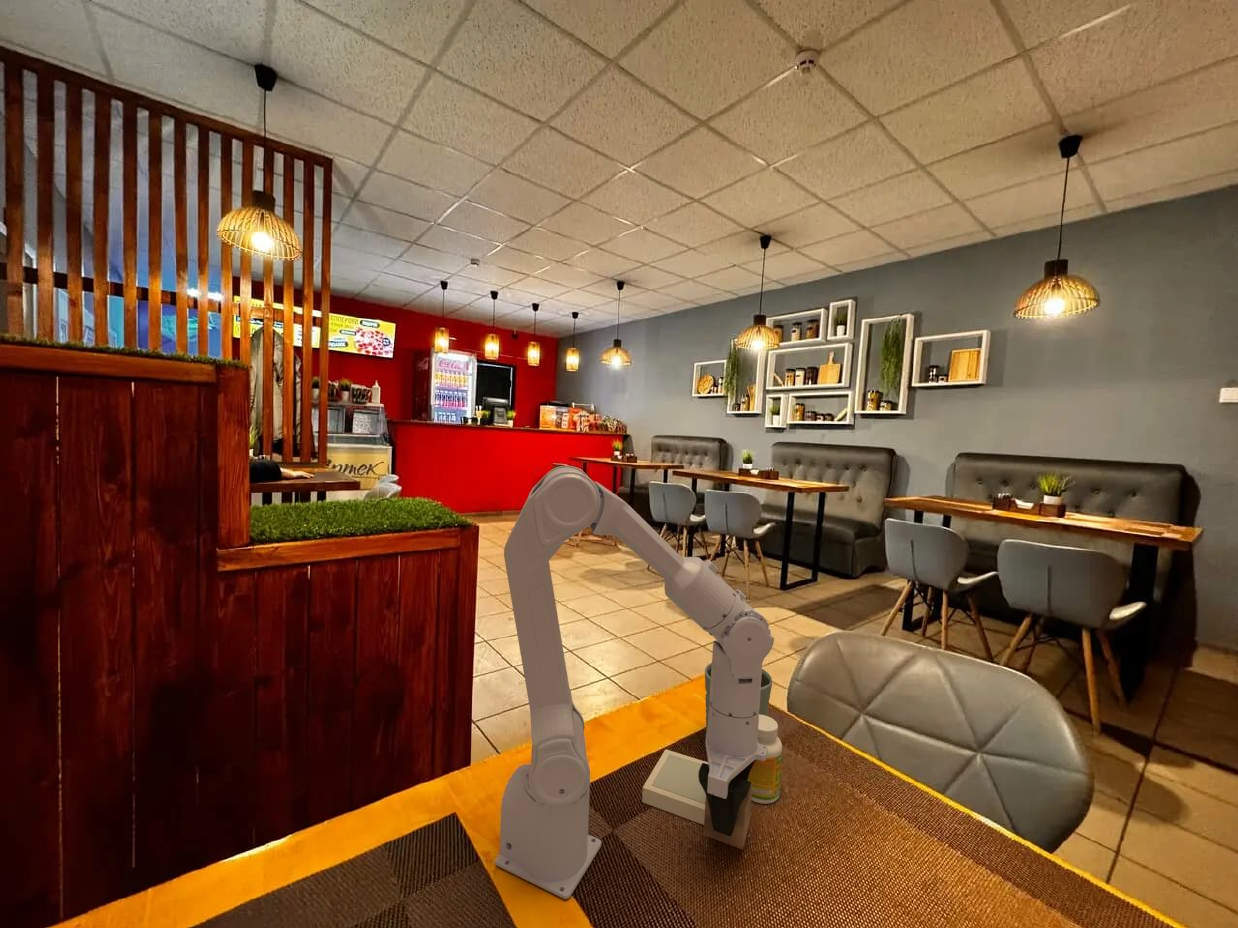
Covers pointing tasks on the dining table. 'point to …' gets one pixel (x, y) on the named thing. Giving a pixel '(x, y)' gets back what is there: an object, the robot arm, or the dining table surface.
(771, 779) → the supplement bottle
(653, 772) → the tile base
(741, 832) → the walnut block
